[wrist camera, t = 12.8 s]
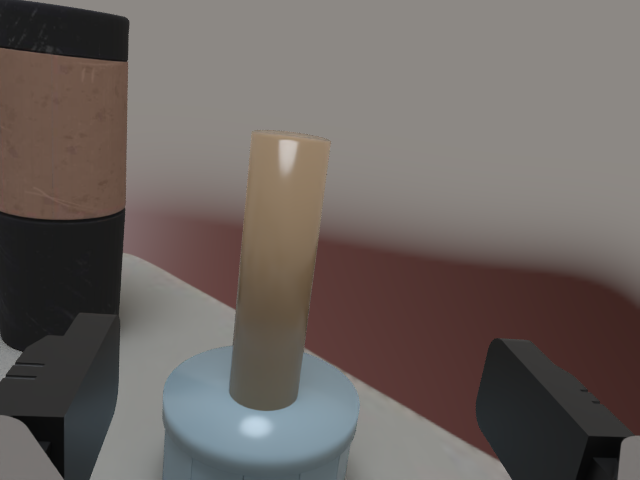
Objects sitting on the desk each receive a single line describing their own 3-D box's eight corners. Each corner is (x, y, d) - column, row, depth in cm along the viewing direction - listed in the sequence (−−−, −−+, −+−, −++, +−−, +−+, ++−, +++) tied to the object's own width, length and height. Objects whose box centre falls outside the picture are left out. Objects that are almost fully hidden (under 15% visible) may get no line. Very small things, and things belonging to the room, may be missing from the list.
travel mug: (-33, 346, 34) (-54, -10, 29) (38, 298, 42) (33, 7, 36) (89, 365, 34) (93, 8, 28) (139, 314, 41) (150, 22, 36)
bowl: (131, 467, 26) (133, 392, 25) (269, 414, 32) (276, 349, 30) (227, 592, 21) (235, 502, 20) (374, 501, 26) (388, 427, 25)
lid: (128, 391, 25) (136, 116, 22) (278, 348, 31) (304, 123, 27) (234, 510, 19) (269, 159, 16) (395, 429, 25) (447, 157, 21)
